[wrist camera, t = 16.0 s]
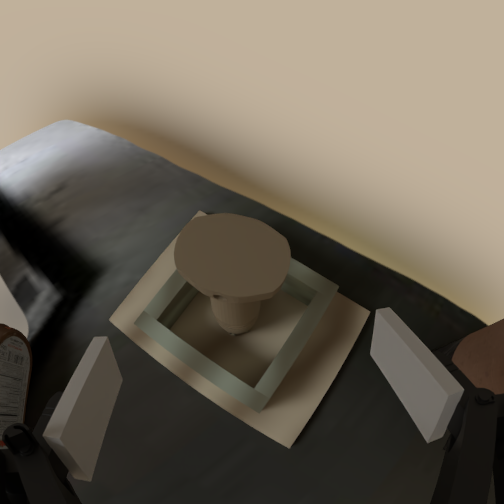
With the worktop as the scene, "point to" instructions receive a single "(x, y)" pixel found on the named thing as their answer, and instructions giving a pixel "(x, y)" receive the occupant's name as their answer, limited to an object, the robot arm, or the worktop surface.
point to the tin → (13, 377)
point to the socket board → (247, 343)
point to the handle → (233, 265)
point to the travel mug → (481, 357)
